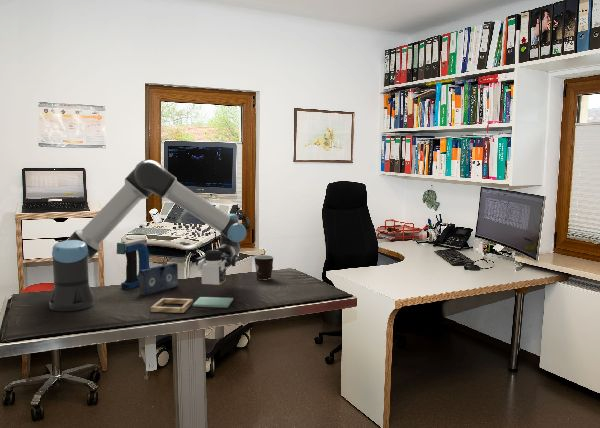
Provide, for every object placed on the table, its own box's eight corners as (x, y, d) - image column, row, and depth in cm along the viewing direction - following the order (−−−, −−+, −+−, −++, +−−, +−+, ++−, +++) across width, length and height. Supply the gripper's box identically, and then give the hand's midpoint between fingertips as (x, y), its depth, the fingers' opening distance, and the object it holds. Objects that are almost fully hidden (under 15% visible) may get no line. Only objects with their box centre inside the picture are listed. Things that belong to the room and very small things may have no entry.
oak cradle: (150, 311, 179) (150, 307, 179) (162, 302, 191) (162, 298, 191) (183, 312, 178) (183, 308, 178) (193, 303, 190) (192, 299, 190)
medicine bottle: (219, 285, 186) (219, 253, 184) (201, 284, 187) (200, 252, 186) (226, 280, 193) (225, 249, 191) (208, 279, 194) (207, 248, 193)
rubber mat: (192, 306, 186) (192, 304, 186) (200, 298, 196) (200, 296, 196) (227, 307, 185) (227, 305, 185) (233, 299, 195) (233, 297, 195)
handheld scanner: (116, 289, 208) (115, 242, 206) (141, 281, 223) (141, 237, 220) (124, 291, 206) (124, 243, 204) (150, 282, 221) (149, 238, 219)
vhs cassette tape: (174, 285, 217) (173, 262, 216) (179, 286, 215) (178, 263, 214) (138, 294, 202) (137, 270, 201) (143, 295, 200) (142, 271, 199)
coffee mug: (254, 276, 233) (254, 255, 232) (272, 276, 234) (272, 255, 233) (254, 282, 222) (254, 260, 221) (274, 282, 223) (274, 260, 222)
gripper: (249, 264, 206) (238, 277, 184) (199, 263, 208) (182, 276, 185) (249, 246, 206) (237, 257, 183) (199, 245, 207) (182, 256, 185)
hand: (210, 266), depth 184 cm, fingers closed on medicine bottle, 8 cm apart
